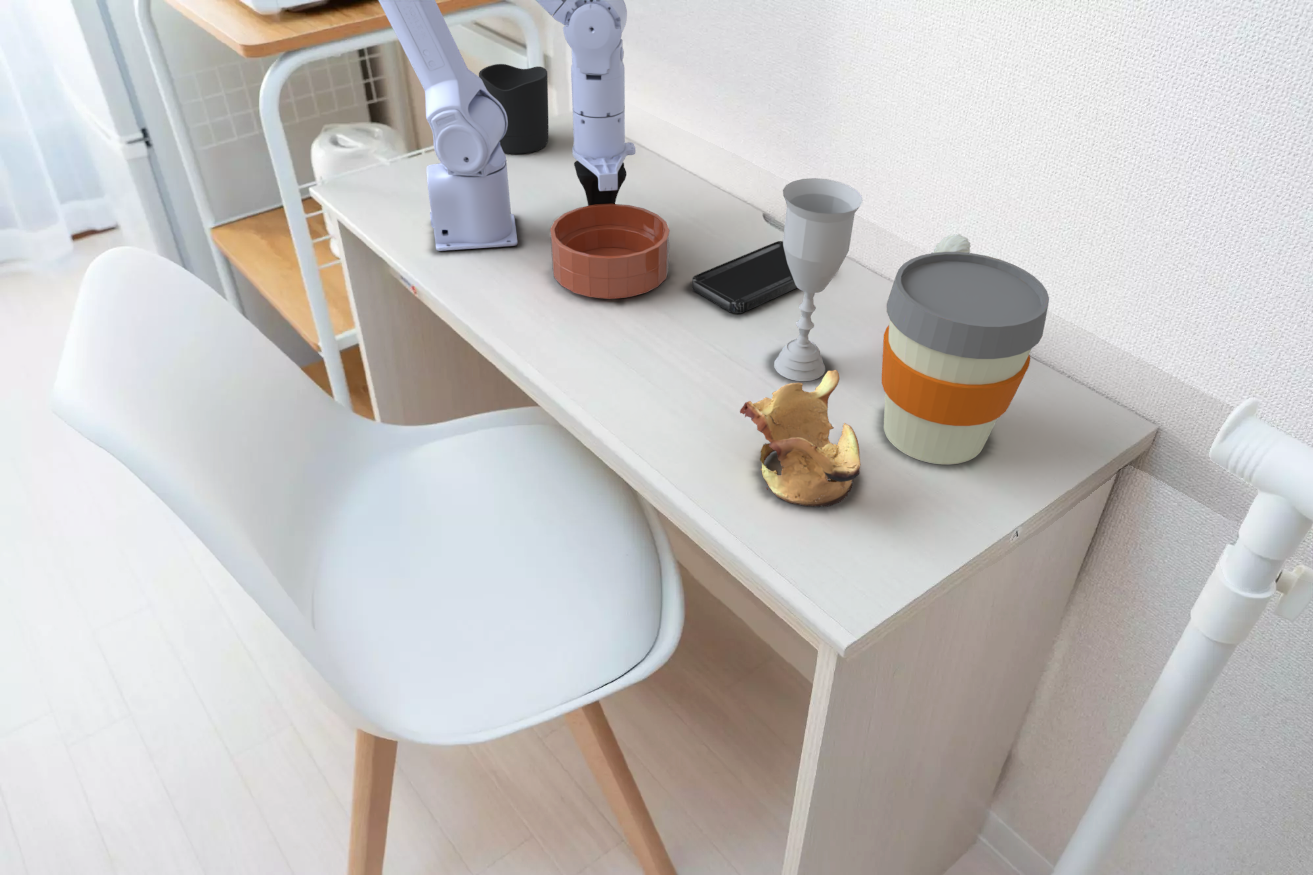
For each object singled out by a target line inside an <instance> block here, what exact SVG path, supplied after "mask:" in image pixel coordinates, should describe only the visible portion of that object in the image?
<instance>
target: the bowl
mask: <svg viewBox="0 0 1313 875" xmlns="http://www.w3.org/2000/svg"><path fill="white" fill-rule="evenodd" d="M670 231H671V230H670V227H669V225H668V223H667V221H666V220H665V219H664V218H663V217H661V215H659V214H658V213H655V212H653V211H651V210H650V209H646V208H644V207H639V206H636V205H630V204H622V203H621V204H620V203H615V204H596V205H590V206H588V205H584V206H581V207H577V208H574V209H571V210H569V211H567V212H564V213H562V215H560V216H558V217H557V218H556V219H555V220H553V223H552V225H551V227H550V229H549V232H550V234H549V235H550V248H551V249H550V250H551V251H550V252H551V266H552V274H553V278H554V279H555V280H556V281H557V283H558V284H560V286H561V287H563V288H565V289H567V290H569V291H570V292H572V293H573V294H577V295H581V296H585V297H588V298H594V299H603V300H617V299H626V298H631V297H636V296H638V295H642V294H646V293H648V292H650V291H652V290H654V289H656V288H658V287H659V286H660V285H661V284H662V283H663V282H664V281H665V280H666V279H667V276H668V273H669V268H670V236H671V235H670Z"/></svg>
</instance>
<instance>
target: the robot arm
mask: <svg viewBox="0 0 1313 875" xmlns="http://www.w3.org/2000/svg"><path fill="white" fill-rule="evenodd" d="M378 2H379V4H380V6H381V8H382V10H383V12H384V15H385V17H386V18H387V20H388V22H389V24H390V26H391V28H392V29H393V31H394V34H395V35H396V38H397V39H398V42H399V44H400V45H401V47H402V50H403V51H404V53H405V55H406V57H407V59H408V61H409V63H410V65H411V67H412V69H413V71H414V72H415V75H416V77H417V79H418V81H419V82H420V84H421V86H422V88H423V91H424V96H425V97H424V98H425V118H426V121H427V123H428V124H429V127H430V129H431V132H432V137H433V140H432V141H433V150H434V153H435V156H436V158H437V159H438V160H439V163H434V164H427V165H426V182H427V191H428V192H427V194H428V200H429V206H430V212H429V219H430V226H431V228H432V229H433V234H434V241H435V250H436V251H438V252H439V251H440V252H441V251H442V252H443V251H455V250H457V251H459V250H471V249H487V248H502V247H503V248H504V247H514V246H517V245H518V236H517V226H516V218H515V214H513V213H512V210H511V198H510V187H509V186H510V185H509V175H508V173H509V172H508V163H507V155H506V153H504V152H503V150H502V148H501V145H500V142H499V141H500V140H501V139H502V138H503V137H504V135H505V133H506V131H507V127H508V120H507V115H506V112H505V110H504V108H503V106H502V105H501V104H500V102H499V101H498V100H497V99H495V98H494V97H493V96H492V95H491V94H490V93H489V92H488V91H487V89H486V87H485V85H484V83H483V81H482V79H481V78H480V77H479V75H477V74H476V73H475V72H473V71H472V70H470V69H469V68H468V66H467V64H466V62H465V60H464V58H463V55H462V53H461V52H460V49H459V47H458V46H457V43H456V41H455V39H454V36H453V35H452V33H451V30H450V28H449V26H448V24H447V22H446V19H445V17H444V16H443V14H442V12H441V10H440V7H439V5H438V3H437V1H436V0H378ZM535 2H537V4H538V5H539V6H540V7H541V8H543V9H544V10H545V11H546V12H547V13H548V15H550V16H551V17H552V18H553V19H554V20H555V21H557V22H558V23H560V24H562V25H563V27H562V31H563V36H564V39H565V41H566V43H567V44H568V47H570V49H571V65H570V78H571V79H570V80H571V81H570V82H571V101H572V102H571V104H572V105H571V106H572V128H573V129H572V130H573V131H572V132H573V146H572V157H573V158H574V159H575V160H576V161H574V162H573V166H574V169H575V174H576V177H577V179H578V181H579V183H580V185H581V186H582V188H583V190H584V193H585V196H586V202H587V206H590V205H596V204H616V203H617V202H616V201H617V197H618V195H619V192H620V189H621V187H622V185H623V183H624V182H625V180H626V178H627V169H626V167H625V162H624V161H625V159H626V158H627V157H628V156H634V155H636V145H635V144H634V143H633V142H626V114H625V113H626V97H625V96H626V92H625V91H626V90H625V87H626V86H625V82H626V80H625V79H626V77H625V75H626V74H625V70H626V68H625V64H624V56H625V51H624V45H623V44H624V43H623V39H622V35H623V32H624V30H625V27H626V24H627V21H628V20H627V18H628V11H627V6H626V2H625V0H535Z"/></svg>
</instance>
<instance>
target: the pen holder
mask: <svg viewBox="0 0 1313 875" xmlns="http://www.w3.org/2000/svg"><path fill="white" fill-rule="evenodd" d="M478 77H480V78H481V79H482V81H483V83H484V85H485V87H486V89H487V91H488V92H489V93H490V94H491V95H492V96H493V97H494V98H495V99H497V100H498V101H499V102H500V104H501V105H502V106H503V108H504V110H505V112H506V115H507V120H508V127H507V131H506V133H505V135H504V137H503V138H502V139H501V140H500V141H499V142H500V145H501V148H502V150H503V152H504V154H508V155H509V154H510V155H524V154H531V153H534V152H538V151H540V150H542V149H543V148H546V146H547V144H548V143H549V84H548V82H549V81H548V80H549V79H548V70H547V69H546V68H545V67H543V66H533V67H529V68H519V67H515V66H513V65H509V64H506V63H494V64H490V65H487V66H486V67H483V68H482V69H481V70H479V72H478Z"/></svg>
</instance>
